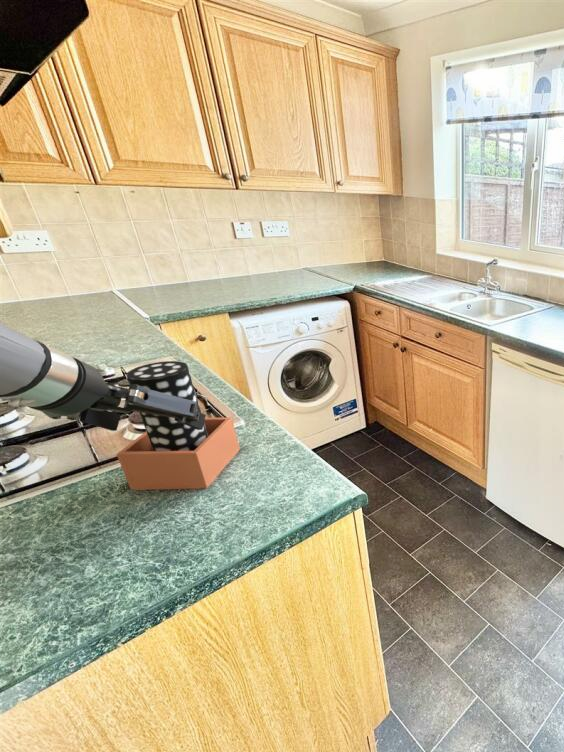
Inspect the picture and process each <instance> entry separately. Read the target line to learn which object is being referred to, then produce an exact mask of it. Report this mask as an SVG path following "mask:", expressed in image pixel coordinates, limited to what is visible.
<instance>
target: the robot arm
mask: <svg viewBox="0 0 564 752" xmlns="http://www.w3.org/2000/svg"><path fill="white" fill-rule="evenodd" d="M0 399H1V400H5V401H7V405H8V406H9V407H13V408H17V407H20V406H25V407H27V408H29V409H32V410H35V411H39V412H42V413H43V414H44V415H45V416H47V417H48V418H49V419H52V420H61V419H62V417H66V420H69V421H79V422H81V423H85V424H88V425H92V426H95V427H98V428H101V429H104V430H109V431H111V432H114V431H115V432H116V431H117V430H118V427H119V424H120V420H121V414H128V413H130V412H136V413H140V412H141V413H147V414H153V415H159V416H165V417H171V418H175V421H177V422H178V423H179V424H185V425H187V426H190V427H192V428H194V429H197V430H203V425H204V421H205V418H206V416H207V415H206V414H205V413H202V412H201V413H200V412H198V411H197V407H198V403H199V401H198V402H195V401H191V400H187V399H183V398H180V397H176V396H172V395H168V394H164V393H161V392H157V391H153V390H149V389H147V388H144V387H142V386H139V385H137V384H130V385H129V386H128V387H122V386H118V385H115V384H114V383H110V382H106V380H105V379H104V377H103V374H102V373H101V372H100V371H99V370H98V368H96V367H95V366H93V365H91V364H89V363H87V362H85V361H83V360H80V359H78V358H76V357H74V356H72V355H69V354H67V353H66V352H64V351H62V350H60V349H58V348H55V347H53V346H51V345H48V344H47V343H44V342H43V341H40V340H38V339H35V338H32V337H30V336H28V335H27V334H24V333H22V332H20V331H18V330H15V329H13V328H11V327H10V326H8V325H6V324H4V323H2V322H1V321H0ZM122 399H123V400H124V404H123V407H122V406H120V405H121V401H122ZM119 413H121V414H119Z"/></svg>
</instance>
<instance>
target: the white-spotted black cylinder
mask: <svg viewBox="0 0 564 752" xmlns="http://www.w3.org/2000/svg"><path fill="white" fill-rule="evenodd" d="M125 377H126V380H127V382H128V385H129V386H130V384H137V385H139V386H142V387H144V388H147V389H149V390H153V391H157V392H161V393H164V394H168V395H172V396H176V397H180V398H183V399H187V400H191V401H195V402H198V407H197V411H198V412H200V413H202V409H201V407H200V403H199V399H198V396H197V394H196V393H197V392H196V390H195V386H194V382H193V379H192V376H191V373H190V369H189V366H188V364H187V363H185V362H183V361H176V360H167V361H166V360H165V361H157V362H151V363H147V364H143V365H140V366H137V367H134V368H132V369H130V370H129V371H128V372H126V374H125ZM139 416H140V419H141V421H142V423H143V426H144V429H145V432H147V435H148V437H149V440H150V443H151V446H152V448H153V451H194V450H195V449H196V448H197V447H198V446H199V445H200V444H201V443H202V442H203V441H204V440H205V439H206V438H208V434H207V431H206V427H205V424H204V425H203V430H197V429H194V428H192V427H190V426H187V425H185V424H179V423H178V422H177V421H175V418H171V417H165V416H159V415H153V414H147V413H141V412H139Z"/></svg>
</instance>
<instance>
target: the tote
mask: <svg viewBox="0 0 564 752" xmlns="http://www.w3.org/2000/svg"><path fill="white" fill-rule="evenodd" d="M204 424H205V427H206V431H207V434H208V438H206V439H205V440H204V441H203V442H202V443H201V444H200V445H199V446H198V447H197V448H196V449H195V450H194V451H153V448H152V446H151V443H150V440H149V437H148V435H147V432H146V431H145V432H143V433H142V434H140V435H139V436H138V437H137V438H136V439H134V440H132V442H130V443H129V444H127V445H126V446H125V447H124V448H122V449H121V450H119V451H118V453H116V456H117V459H118V462H119V464H120V466H121V469H122V472H123V474H124V476H125V479H126V481H127V483H128V486H129V489H130V490H131V491H141V490H143V491H144V490H146V491H147V490H183V489H184V490H186V489H187V490H190V489H208V488H209V487H210V486H211V484H212V483H213V482H214V481H215V480H216V478H217V477H218V476H219V475H220V474H221V473H222V471H223V470H224V469H225V468H226V467H227V466H228V464H229V463H230V462H231V461H232V460H233V458H234V457H235V456H236V455H237V454H238V452H239V451H240V450H241V447H240V443H239V440H238V436H237V433H236V428H235V425H234V421H233V418H232V417H205V421H204Z"/></svg>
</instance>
